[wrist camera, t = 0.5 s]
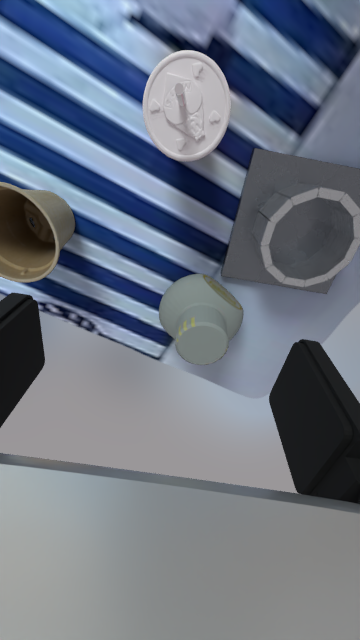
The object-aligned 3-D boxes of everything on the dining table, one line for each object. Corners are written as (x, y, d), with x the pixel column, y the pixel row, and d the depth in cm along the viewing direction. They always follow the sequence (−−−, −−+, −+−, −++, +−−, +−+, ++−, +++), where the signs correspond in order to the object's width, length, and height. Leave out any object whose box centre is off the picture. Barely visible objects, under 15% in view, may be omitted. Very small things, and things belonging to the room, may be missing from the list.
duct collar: (253, 148, 29) (265, 146, 23) (380, 173, 29) (420, 177, 24) (220, 272, 36) (225, 292, 31) (323, 290, 36) (344, 313, 31)
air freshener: (249, 306, 38) (264, 350, 30) (208, 342, 42) (212, 390, 33) (190, 256, 35) (189, 289, 26) (151, 300, 38) (139, 341, 30)
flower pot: (54, 270, 37) (19, 299, 29) (-6, 209, 33) (-64, 225, 26) (104, 227, 33) (79, 248, 26) (44, 155, 30) (-6, 155, 22)
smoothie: (199, 64, 25) (203, -16, 13) (232, 134, 28) (259, 118, 16) (144, 112, 27) (106, 79, 15) (180, 173, 30) (170, 184, 18)
